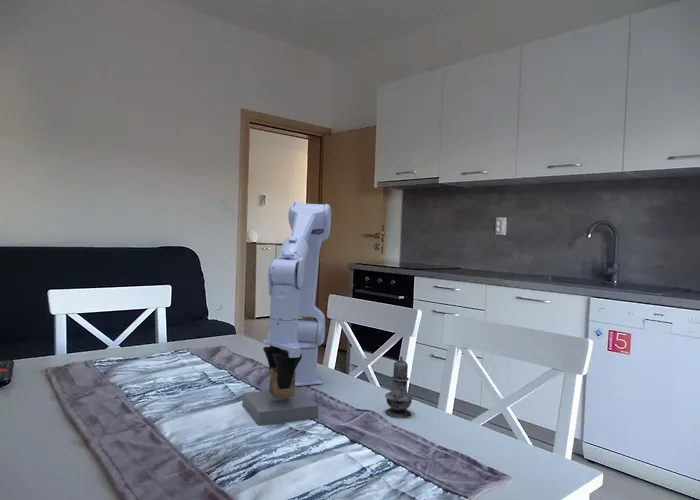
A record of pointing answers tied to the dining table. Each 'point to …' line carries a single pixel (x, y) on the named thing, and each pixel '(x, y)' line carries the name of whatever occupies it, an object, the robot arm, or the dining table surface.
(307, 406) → the slate coaster
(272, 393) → the walnut block
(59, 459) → the dining table surface
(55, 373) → the dining table surface
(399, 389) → the salt shaker
